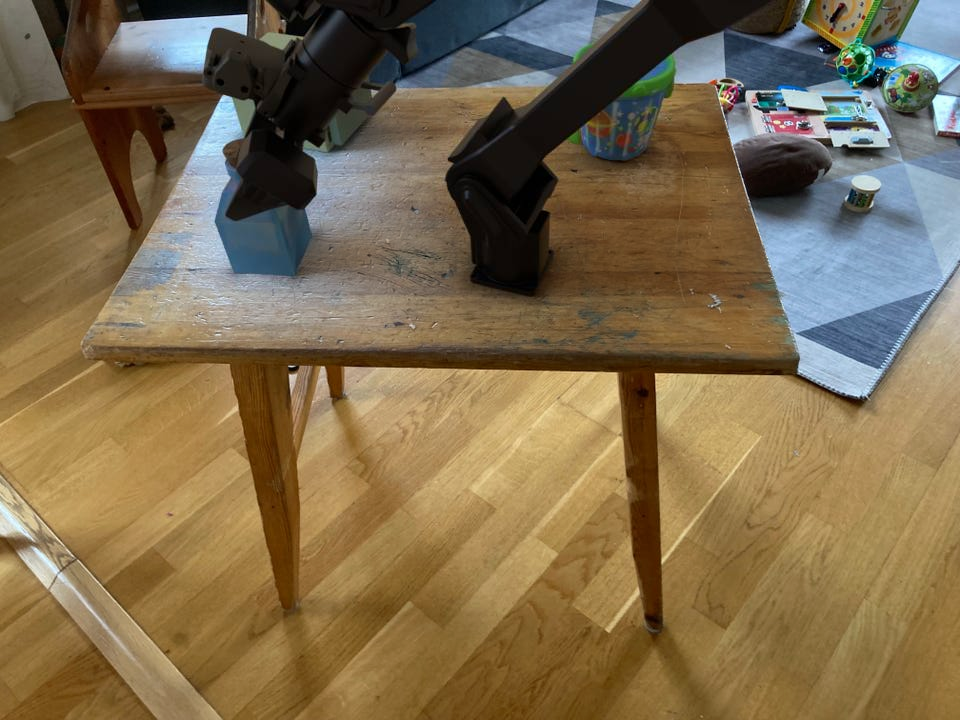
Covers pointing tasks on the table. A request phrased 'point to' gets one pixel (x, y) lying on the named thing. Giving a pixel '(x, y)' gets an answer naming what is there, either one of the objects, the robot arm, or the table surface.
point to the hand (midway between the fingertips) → (235, 188)
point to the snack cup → (628, 115)
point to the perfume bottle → (261, 231)
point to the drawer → (360, 110)
